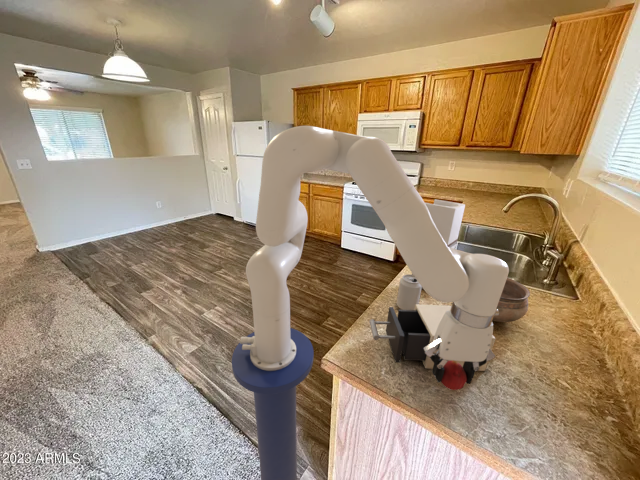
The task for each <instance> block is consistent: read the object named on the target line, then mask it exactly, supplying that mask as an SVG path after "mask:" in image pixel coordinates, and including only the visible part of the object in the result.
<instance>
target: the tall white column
mask: <svg viewBox="0 0 640 480" xmlns="http://www.w3.org/2000/svg"><path fill="white" fill-rule="evenodd" d="M424 203H425V204H426V206H427V208H428V210H429V213H430V215H431V218H432V220H433V222H434V224H435V226H436V228H437V230H438V231H439V233H440V235H441V237H442V238H443V240H444V241H445V243H446V245H447V246H448V247H450V248H453V249H456V247H457V244H458V239H459V235H460V230H461V225H462V221H463V218H464V213H465V208H466V204H465V203H459V202H453V201H448V200H441V199H437V198H436V199H434V200H433V203H429V202H424ZM411 275H413V273H412V272H411ZM421 290H424V289H423V288H421Z"/></svg>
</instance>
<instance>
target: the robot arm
mask: <svg viewBox="0 0 640 480" xmlns="http://www.w3.org/2000/svg"><path fill="white" fill-rule="evenodd" d="M261 164H262V165H261V173H260V174H261V177H260V185H259V193H258V202H257V212H256V219H255V233H256V236H257V239H258V240H259V241H260V242H261V244H262V245H263V246H262V247H259V249H258V250H256V251H255V252H253V254H252V255H251V257H250V258H249V259H248V261H247V263H246V267H245V276H246V280H247V283H248V287H249V290H250V296H251V307H252V316H253V317H252V319H253V330H254V331H253V332H254V333H255V336H253V337H246V336H241V337H240V340H239V343H240V344H243V346H242V350H251V351H250V358H251V361H252V363H253V364H254V365H255V366H256V367H257V368H259V369H262V370H266V371H274V370H279V369H282V368H284V367H286V366H288V365H289V364H290V363H291V362H292V361H293V360H294V358H295V356H296V345H295V343H294V341H293V340H292V339H291V336H290V328H291V295H290V290H289V288H288V283H287V279H288V277H289V275H290V274H291V273H292V271H293V270H294V269H295V268H296V266H297V265H298V263H299V262H300V260H301V257H302V254H303V250H304V249H303V248H304V245H305V238H306V233H307V228H308V222H309V220H308V219H309V218H308V211H307V209H306V207H305V205H304V203H303V202H301V201H300V200H299V199H300V194H301V178H302V176H303V175H304V174H306V173H313V172H317V171H322V170H328V171H333V172H337V173H344V174H348V175H350V177H351V179H352V180H353V182H354V183H355V184H356V186H357V187H358V189H359V190H360V192H361V193H362V194H363V196H364V197H365V198H366V200H367V201H368V203H369V204H370V206H371V207H372V209H373V210H374V212H375V213H376V215H377V216H378V218H379V219H380V220H381V222H382V224H383V225H384V227H385V230H386V231H387V233H388V235H389V237H390V239H391V240H392V242H393V244H394V245H395V247H396V248H397V250H398V253H399V254H400V256H401V258H402V260H403V261H404V263H405V264H406V266H407V268H408V269H409V271H410V272H411V274H412V273H413V275H414V276H415V278H416V279H417V281H418V282H419V283H420V285H421V286H422V288H423V289H422V290H424V291H425V293H426V294H427V295H428V296H429V297H430V298H432V299H434V300H435V301H438V302H440V303H446V304H449V303H452V304H451V306H452V307H451V310H450V311H446V312H445V314H444V315H443V317H442V319H441V321H440V323H439V325H438V328H437V330H436V333H435V336H434V340H433V342H432V343H430V344H429V345H427V346H425V347H424V348H423V350H424V352H425V354H426V355H427V356H428V357H429V358H431V360H432V361H433V362H434V365H433V369H432V370H431V371H432V375H433V377H435V380H436V381H437V383H441V381H442V378H443V375H444V371H445V369H444V365H445V364H446V363H447V362H448V360H454V361H465V362H464V365H463V369H464V371H465V373H466V378H467V380H466V383H465V384H467V385H471V384H472V381H473V378H474V377H475V373H476V372H477V371H478V370H479V369H480V368H479V367H480V366H482V365H484V364H486V363H487V361H488V362H490V361H491V360H493V359H495V358H496V355H495V353H494V351H493V350H492V351H491V350H490V346H491V341H492V336H494V323H493V321H492V320H493V317H494V316H498V315H499V311H498V309H496V308H497V305H498V302H499V299H500V297H501V294H502V291H503V288H504V285H505V282H506V280H507V278H509V277H508V276H509V273H510V268H509V265H508V264H507V263H506V262H505V261H504V260H502V259H501V258H499V257H496V256H493V255H490V254H486V253H470V252H467V251H463V250H460V249H456V248H455V249H453V248H450V247H448V246H447V245H446V243H445V241H444V240H443V238H442V237H441V235H440V233H439V231H438V230H437V228H436V226H435V224H434V222H433V220H432V218H431V215H430V213H429V210H428V208H427V206H426V204H425V203H426V202H425V201H424V199H423V197H422V196H421V194H420V193H419V192H418V190H417V189H416V187H415V186H414V184H413V183H412V182H411V179H410V178H409V177H408V175H407V174H406V172H405V171H404V169H403V167H402V166H401V165H400V163H399V161H398V160H397V158H396V157H395V155H394V154H393V152H392V150H391V148H390V146H389V144H388V143H387V142H386V141H385V140H384V139H382V138H380V137H377V136H365V135H359V134H353V133H348V132H343V131H337V130H332V129H327V128H323V127H318V126H315V125H314V126H313V125H297V126H293V127H289V128H287V129H284V130H282V131H281V132H279V133H278V134H276V135H275V136H274V137H273V138H272V139H271V140H270V141H269V142H268V144H267V146H266V147H265V150H264V153H263V156H262V163H261ZM246 344H251V345H246ZM437 349H439V350H438V351H437V352H436V354H435V353H434V351H436V350H437ZM440 358H442V359H440ZM487 364H488V363H487Z"/></svg>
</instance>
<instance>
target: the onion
mask: <svg viewBox="0 0 640 480" xmlns="http://www.w3.org/2000/svg"><path fill="white" fill-rule="evenodd" d="M444 369H445V371H444V375H443V378H442V381H441V382H440V383H441V384H442V385H443V386H444V387H445V388H446V389H448V390H451V391H460V390H461V389H463V388H464V386H465V385H466V384H467V383H466V380H467V378H466V373H465V371H464V369H463V367H462V366H461V365H460V364H459V363H458V362H457V361H454V360H453V361H452V360H449V361H448V362H447V363H446V364H445V365H444Z"/></svg>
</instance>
